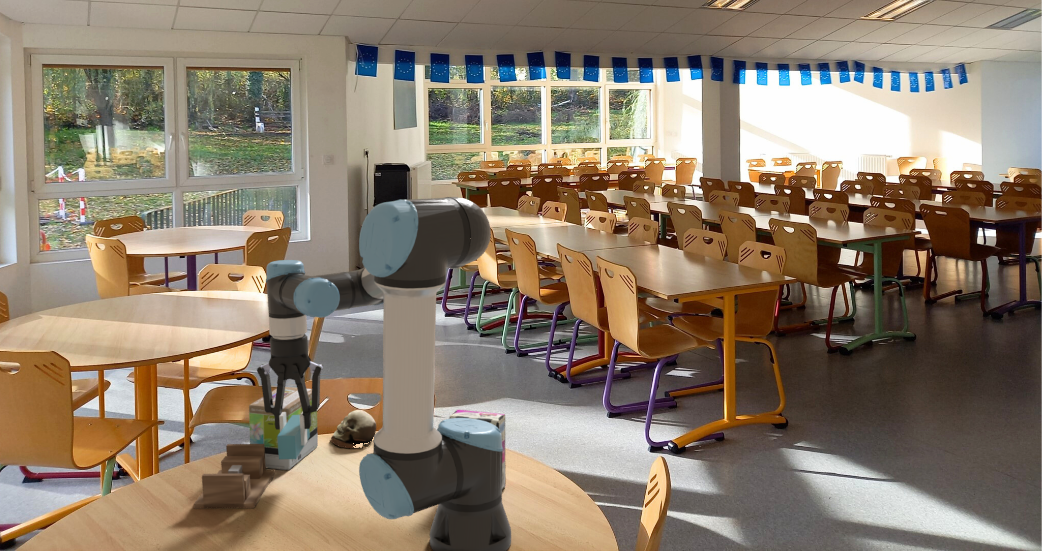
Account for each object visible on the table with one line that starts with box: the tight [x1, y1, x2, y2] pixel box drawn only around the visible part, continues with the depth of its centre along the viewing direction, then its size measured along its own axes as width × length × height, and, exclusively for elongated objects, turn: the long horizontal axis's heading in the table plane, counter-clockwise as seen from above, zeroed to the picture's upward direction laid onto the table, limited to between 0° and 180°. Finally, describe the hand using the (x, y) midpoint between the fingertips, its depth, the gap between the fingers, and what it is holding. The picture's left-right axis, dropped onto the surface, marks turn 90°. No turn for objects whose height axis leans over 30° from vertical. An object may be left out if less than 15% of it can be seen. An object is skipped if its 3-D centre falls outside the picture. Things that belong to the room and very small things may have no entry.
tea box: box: [248, 386, 319, 471], centre depth 198 cm, size 15×10×15 cm, turn 168°
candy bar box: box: [448, 409, 507, 491], centre depth 182 cm, size 11×5×16 cm, turn 73°
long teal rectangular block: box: [277, 415, 310, 459], centre depth 181 cm, size 13×4×5 cm, turn 2°
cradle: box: [193, 443, 276, 510], centre depth 180 cm, size 17×12×7 cm
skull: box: [330, 409, 377, 449], centre depth 210 cm, size 12×10×10 cm
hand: (294, 443), depth 181 cm, fingers closed on long teal rectangular block, 3 cm apart
